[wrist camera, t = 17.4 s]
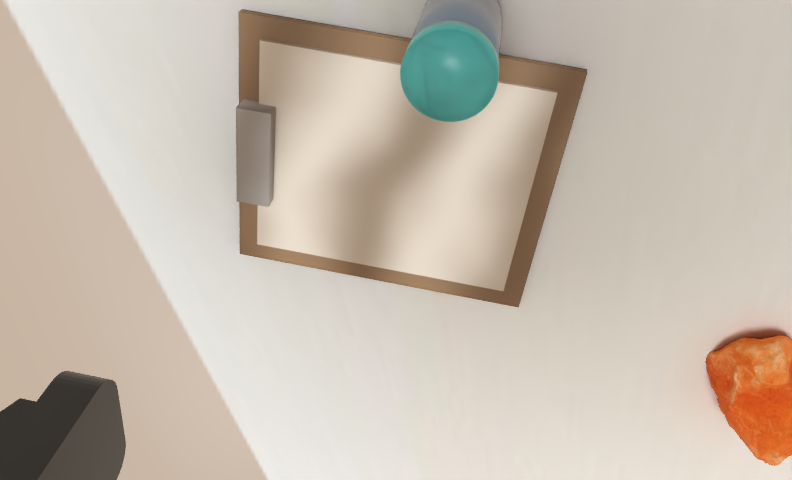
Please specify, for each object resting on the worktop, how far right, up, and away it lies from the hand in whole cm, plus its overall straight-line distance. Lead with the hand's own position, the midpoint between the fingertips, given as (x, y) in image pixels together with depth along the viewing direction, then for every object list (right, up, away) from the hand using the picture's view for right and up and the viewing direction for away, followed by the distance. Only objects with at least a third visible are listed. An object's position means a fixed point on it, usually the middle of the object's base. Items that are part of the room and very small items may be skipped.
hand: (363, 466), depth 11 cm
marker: (+3, +13, +19) cm, 23 cm away
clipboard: (0, +7, +23) cm, 24 cm away
